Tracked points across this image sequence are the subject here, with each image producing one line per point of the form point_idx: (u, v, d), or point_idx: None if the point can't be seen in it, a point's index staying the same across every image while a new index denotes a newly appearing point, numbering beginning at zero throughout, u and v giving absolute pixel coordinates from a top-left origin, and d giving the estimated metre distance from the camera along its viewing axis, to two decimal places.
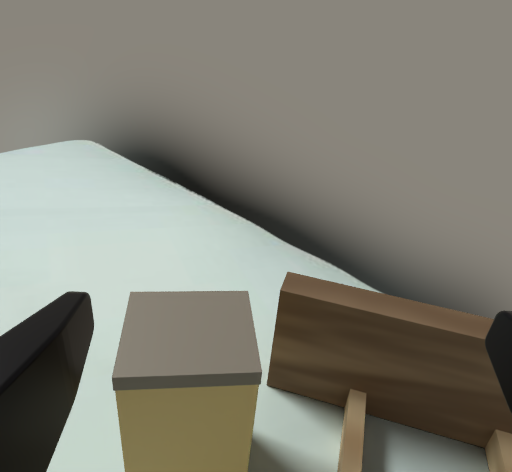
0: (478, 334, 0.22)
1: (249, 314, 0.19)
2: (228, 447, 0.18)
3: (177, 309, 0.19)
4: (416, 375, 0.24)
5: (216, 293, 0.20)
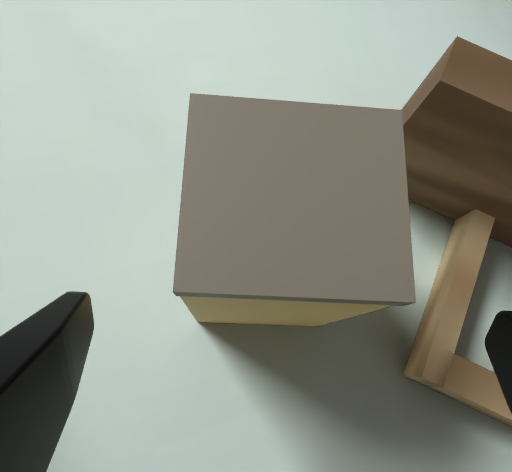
0: None
1: (401, 169, 0.11)
2: (322, 315, 0.14)
3: (275, 145, 0.10)
4: None
5: (344, 111, 0.11)
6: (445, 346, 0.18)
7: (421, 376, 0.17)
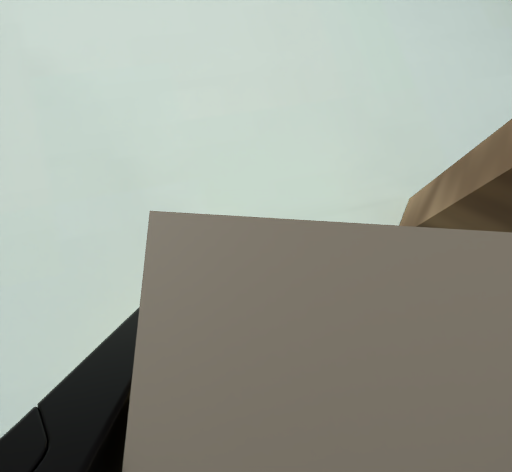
0: None
1: None
2: None
3: (302, 310, 0.06)
4: None
5: (422, 238, 0.06)
6: None
7: None
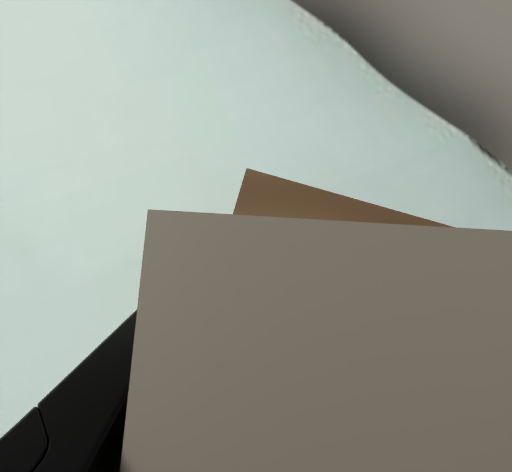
0: None
1: None
2: None
3: (300, 308, 0.06)
4: None
5: (420, 236, 0.06)
6: None
7: None
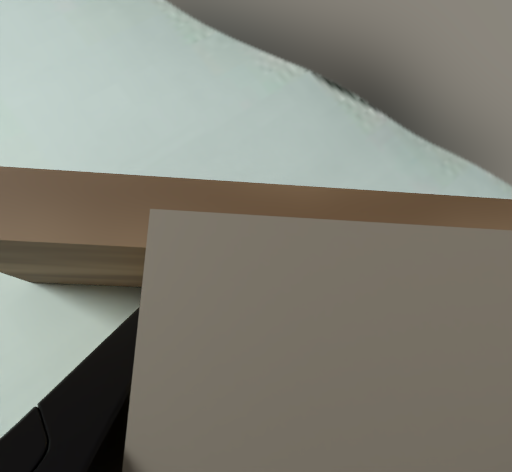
0: None
1: None
2: None
3: (302, 307, 0.06)
4: None
5: (421, 235, 0.06)
6: None
7: None
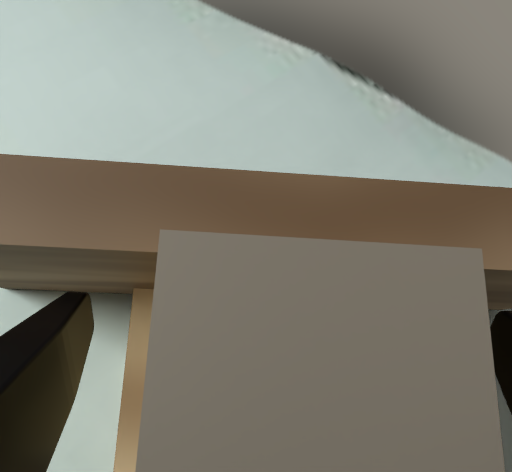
0: None
1: (485, 350, 0.07)
2: None
3: (291, 315, 0.07)
4: None
5: (396, 253, 0.07)
6: None
7: None
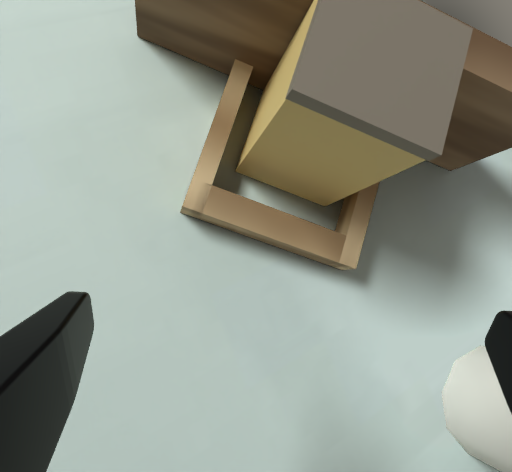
0: None
1: (460, 68, 0.15)
2: (351, 177, 0.19)
3: (383, 18, 0.14)
4: None
5: (435, 13, 0.15)
6: (204, 179, 0.20)
7: None
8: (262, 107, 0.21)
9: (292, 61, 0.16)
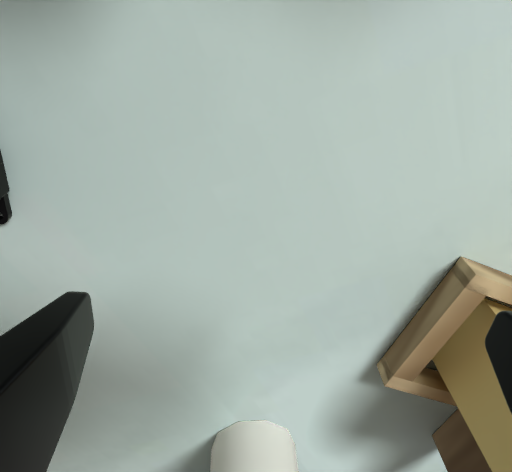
0: None
1: None
2: (478, 415, 0.23)
3: None
4: None
5: None
6: (492, 290, 0.23)
7: (476, 274, 0.23)
8: None
9: None
